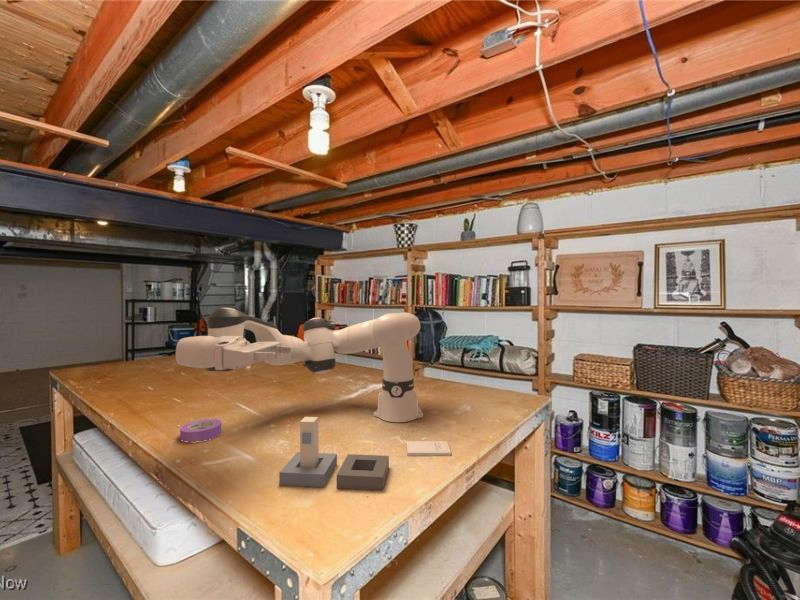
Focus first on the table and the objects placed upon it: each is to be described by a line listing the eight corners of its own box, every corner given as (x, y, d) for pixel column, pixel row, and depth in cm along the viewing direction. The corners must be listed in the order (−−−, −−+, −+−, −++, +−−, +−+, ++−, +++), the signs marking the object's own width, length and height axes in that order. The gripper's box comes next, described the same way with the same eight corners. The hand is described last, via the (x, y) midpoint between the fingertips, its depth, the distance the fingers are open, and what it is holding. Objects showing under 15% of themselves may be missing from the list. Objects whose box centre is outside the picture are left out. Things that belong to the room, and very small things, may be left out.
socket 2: (347, 465, 93) (347, 454, 93) (388, 467, 92) (388, 455, 92) (336, 487, 82) (336, 475, 82) (382, 490, 81) (382, 477, 81)
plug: (305, 470, 91) (305, 416, 90) (318, 471, 90) (318, 417, 90) (299, 479, 86) (298, 422, 86) (313, 479, 86) (312, 423, 86)
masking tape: (177, 446, 106) (177, 434, 106) (183, 433, 117) (183, 421, 117) (220, 440, 111) (220, 428, 111) (222, 427, 121) (222, 416, 121)
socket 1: (297, 463, 95) (297, 452, 95) (336, 464, 94) (336, 453, 94) (279, 484, 84) (279, 472, 84) (324, 487, 83) (324, 474, 83)
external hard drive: (406, 446, 107) (446, 445, 107) (407, 458, 99) (451, 457, 99) (406, 440, 107) (446, 440, 107) (407, 452, 99) (451, 452, 99)
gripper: (253, 357, 106) (298, 357, 105) (211, 371, 85) (265, 372, 84) (253, 336, 106) (298, 336, 104) (211, 345, 85) (265, 346, 84)
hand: (283, 352), depth 94 cm, fingers open, 8 cm apart
